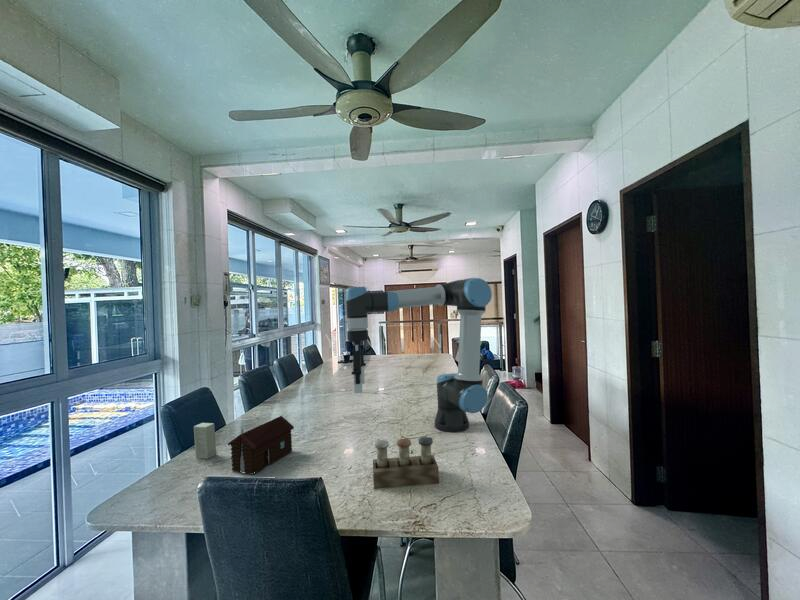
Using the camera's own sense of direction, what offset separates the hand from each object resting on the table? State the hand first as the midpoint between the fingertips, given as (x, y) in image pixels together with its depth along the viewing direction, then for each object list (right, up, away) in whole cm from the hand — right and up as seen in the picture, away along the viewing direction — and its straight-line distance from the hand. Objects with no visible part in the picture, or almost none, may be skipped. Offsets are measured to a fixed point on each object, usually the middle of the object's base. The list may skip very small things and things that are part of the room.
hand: (359, 388), depth 131 cm
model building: (-35, -27, +2) cm, 45 cm away
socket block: (+16, -25, -16) cm, 34 cm away
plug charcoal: (+23, -21, -16) cm, 35 cm away
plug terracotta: (+16, -21, -16) cm, 31 cm away
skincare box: (-60, -28, +8) cm, 67 cm away
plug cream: (+9, -21, -17) cm, 29 cm away
